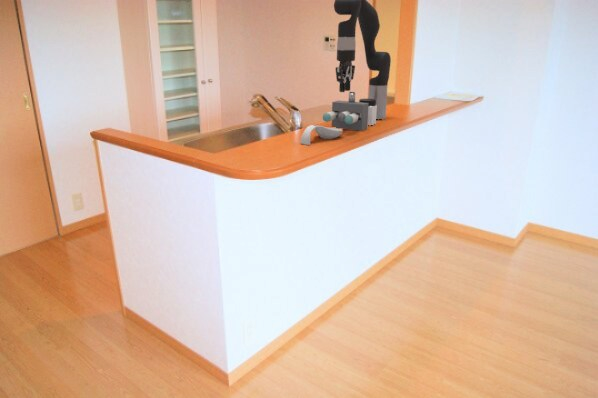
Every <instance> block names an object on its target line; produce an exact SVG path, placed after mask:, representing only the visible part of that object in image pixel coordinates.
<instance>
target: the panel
mask: <svg viewBox="0 0 598 398" xmlns="http://www.w3.org/2000/svg"><path fill="white" fill-rule="evenodd" d="M368 104H369V103H362V102H359V101H355V102H354V103H350V102H349V100H339V99H338V100H334V101H332V104H331V109H332V110H331V111H333V112H335V113H336V112H338V113H342V112H345V111H348V112H350V114H353V113H355V114H357V115H358V114H361V118H358V120H357V122H355V123H352V124H347V123H346V122H345V121H343V122H341V121H339V120H338V116H336V118H335V119H334V120H332V121H331V128H332V127H336V128H343V129H342V130H347V129H351V130H350V131H356V130H359V131H358V132H363V130H364V131H365V129H366V130H368V126H367V124H368Z"/></svg>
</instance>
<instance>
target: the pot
mask: <svg viewBox="0 0 598 398" xmlns="http://www.w3.org/2000/svg"><path fill="white" fill-rule="evenodd" d="M348 101H349V102H350V103H354V102H356V92H355V91H349V93H348Z"/></svg>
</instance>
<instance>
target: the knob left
mask: <svg viewBox="0 0 598 398" xmlns="http://www.w3.org/2000/svg"><path fill="white" fill-rule="evenodd" d="M338 114H339V113H338V112H336V113H335V112H333V111H332V110H331V111H328V112H325V113H323V115H322V120H323V121H324V122H326V123H328V122H332V120H334V119H335V118H336V116H338Z"/></svg>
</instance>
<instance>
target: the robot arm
mask: <svg viewBox="0 0 598 398" xmlns="http://www.w3.org/2000/svg"><path fill="white" fill-rule="evenodd" d="M333 10H334V11H335V13H336V14H337V15H339V16H350V17H349V18H348V19H347V20H343V21H340V22H339V23H338V25H337V43H336V61H338V62H339V65H338V66H336V67H335V75H336V76H335V77H336V82H338V83H339V92H340V93H345V92H346V91H347V92H348V91H349V92H351V82H352V81H353V80H354V77H355V70H356V65H353V63H352V62H354V61H356V46H357V44H356V43H357V42H356V29H357V28H356V27H357V22H358V24H359V29H360V32H361V36H362V42H363V46H364V53H365V62H366V64H367V68H368V69H369V70H370V71H373V72H374V71H376V72H377V71H378V74H377V75H376V76H375V77H371V78H369V80H368V82H369V83H368V98H367V99H376V105H377V114H376V119H384V120H386V117H387V100H388V99H387V98H388V83H389V79H390V71H391V62H392V61H391V55H390V53H389V51H376V47H375V41H376V38H377V36H378V33H379V31H380V27H381V24H380V19H379V14H378V12H377V9H376V8H374V6H373V5H372V4H371V3H370V2H369V1H368V0H334V3H333Z"/></svg>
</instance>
